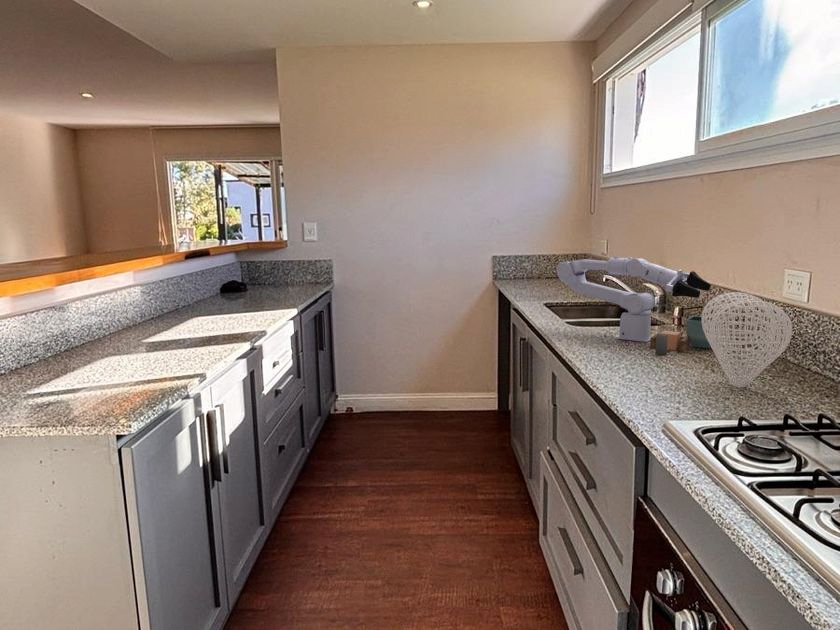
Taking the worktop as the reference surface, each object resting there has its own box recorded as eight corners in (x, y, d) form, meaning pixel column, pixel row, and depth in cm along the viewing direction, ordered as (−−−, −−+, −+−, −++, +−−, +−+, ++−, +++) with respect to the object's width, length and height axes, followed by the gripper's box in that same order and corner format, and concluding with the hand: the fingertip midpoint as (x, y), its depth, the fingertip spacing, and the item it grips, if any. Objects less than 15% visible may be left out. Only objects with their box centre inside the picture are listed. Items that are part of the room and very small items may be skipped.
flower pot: (714, 351, 176) (716, 322, 174) (683, 347, 181) (685, 319, 179) (719, 346, 182) (722, 318, 181) (690, 342, 188) (692, 315, 186)
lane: (649, 348, 180) (650, 337, 179) (656, 343, 186) (657, 333, 185) (683, 352, 174) (684, 341, 173) (689, 347, 180) (690, 336, 179)
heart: (692, 370, 153) (698, 288, 149) (756, 374, 149) (764, 290, 145) (715, 402, 126) (723, 303, 122) (795, 407, 122) (805, 305, 118)
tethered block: (651, 354, 172) (652, 334, 171) (663, 345, 183) (664, 327, 182) (668, 356, 169) (669, 336, 168) (679, 347, 180) (680, 329, 179)
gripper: (655, 271, 179) (698, 286, 170) (676, 259, 187) (718, 273, 179) (650, 291, 182) (691, 306, 173) (670, 278, 191) (711, 293, 182)
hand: (704, 291), depth 176 cm, fingers open, 7 cm apart
